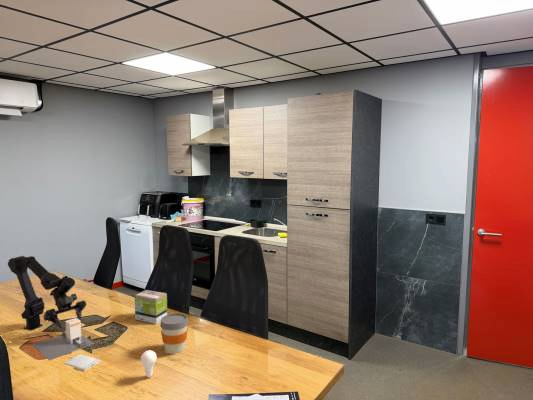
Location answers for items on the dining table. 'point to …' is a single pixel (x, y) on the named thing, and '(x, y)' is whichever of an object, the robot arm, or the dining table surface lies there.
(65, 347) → the mounting plate
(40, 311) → the robot arm
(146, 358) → the lightbulb
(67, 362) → the hard drive
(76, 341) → the rail
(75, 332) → the block
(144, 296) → the tea box
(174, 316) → the reusable coffee cup
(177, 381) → the dining table surface
